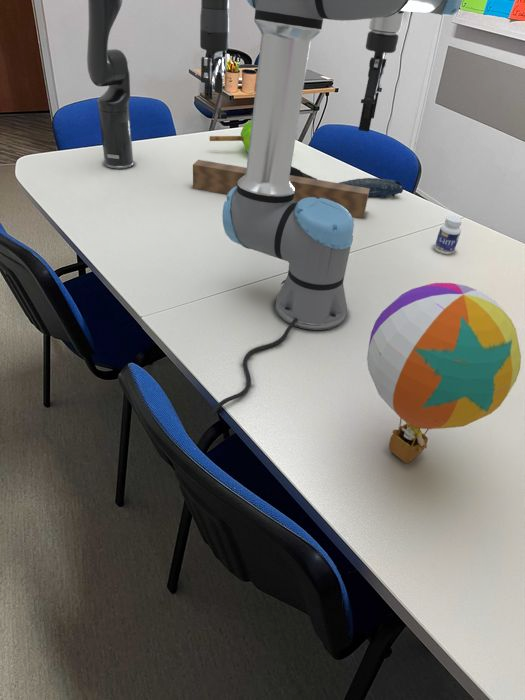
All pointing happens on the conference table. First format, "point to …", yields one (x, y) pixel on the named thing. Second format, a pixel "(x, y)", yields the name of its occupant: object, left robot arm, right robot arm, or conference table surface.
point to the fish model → (377, 186)
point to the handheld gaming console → (299, 173)
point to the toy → (441, 360)
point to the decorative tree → (244, 136)
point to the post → (347, 196)
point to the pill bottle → (448, 235)
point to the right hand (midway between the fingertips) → (366, 123)
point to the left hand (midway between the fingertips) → (213, 95)
